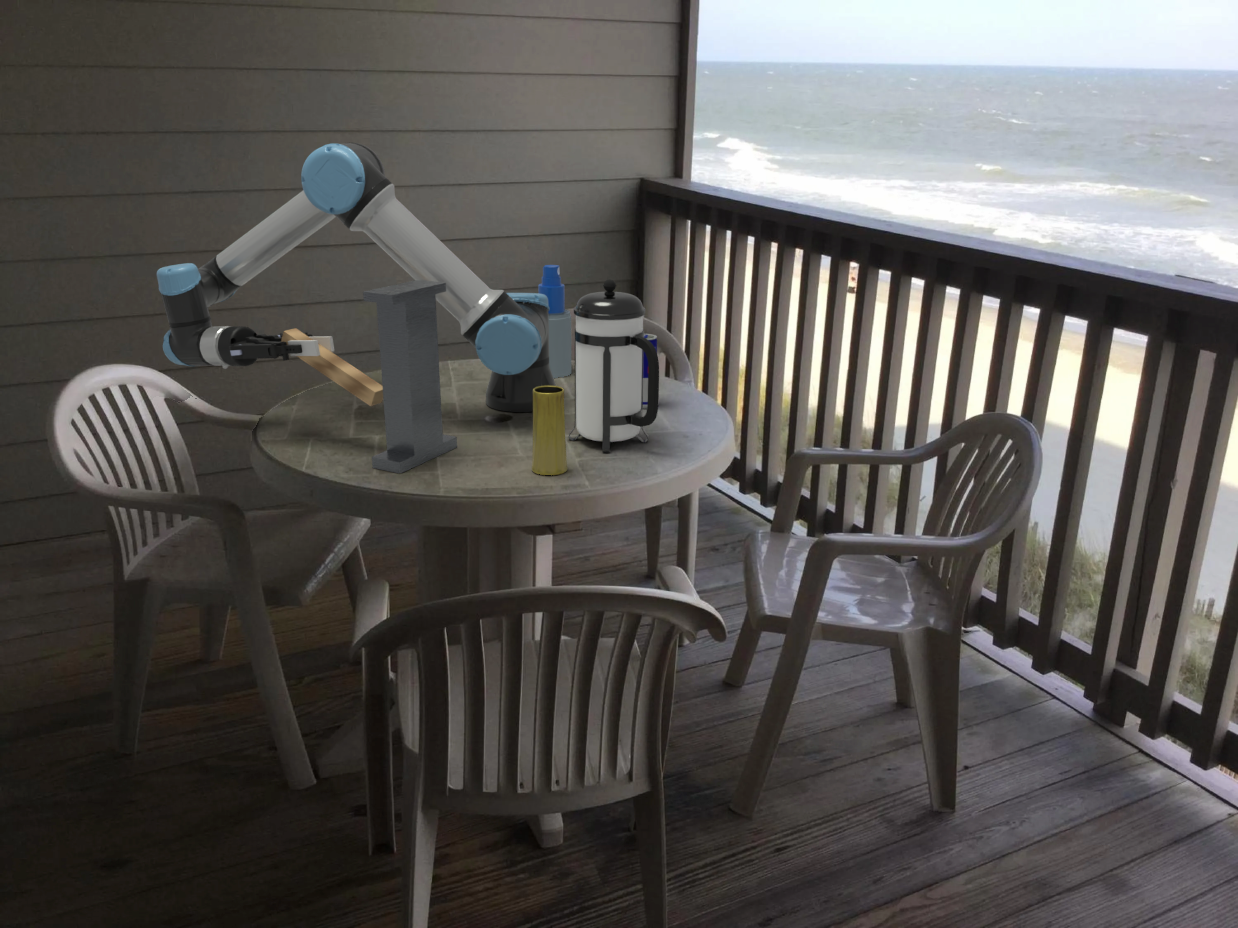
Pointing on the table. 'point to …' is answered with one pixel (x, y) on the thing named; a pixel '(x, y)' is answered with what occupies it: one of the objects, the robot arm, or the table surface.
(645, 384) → the beverage can
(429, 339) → the charcoal post
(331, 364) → the oak bar
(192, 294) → the robot arm
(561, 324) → the spray bottle
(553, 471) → the vase
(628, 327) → the coffee press
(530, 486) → the table surface
